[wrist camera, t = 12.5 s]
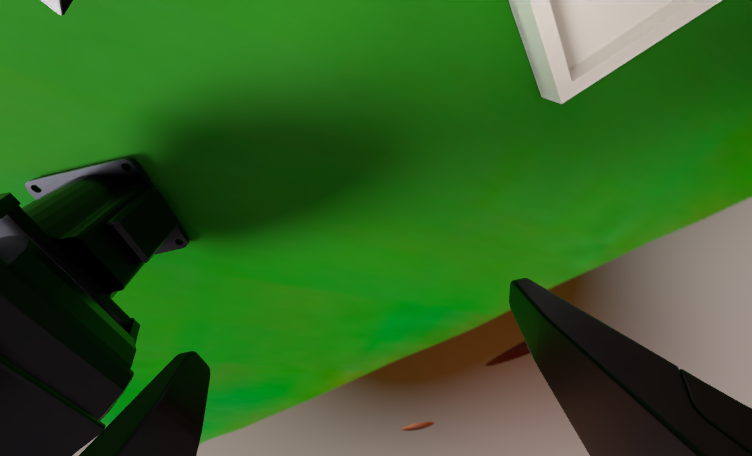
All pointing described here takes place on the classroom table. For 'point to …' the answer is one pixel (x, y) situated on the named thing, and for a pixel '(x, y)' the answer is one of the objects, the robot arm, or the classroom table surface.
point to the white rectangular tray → (593, 37)
